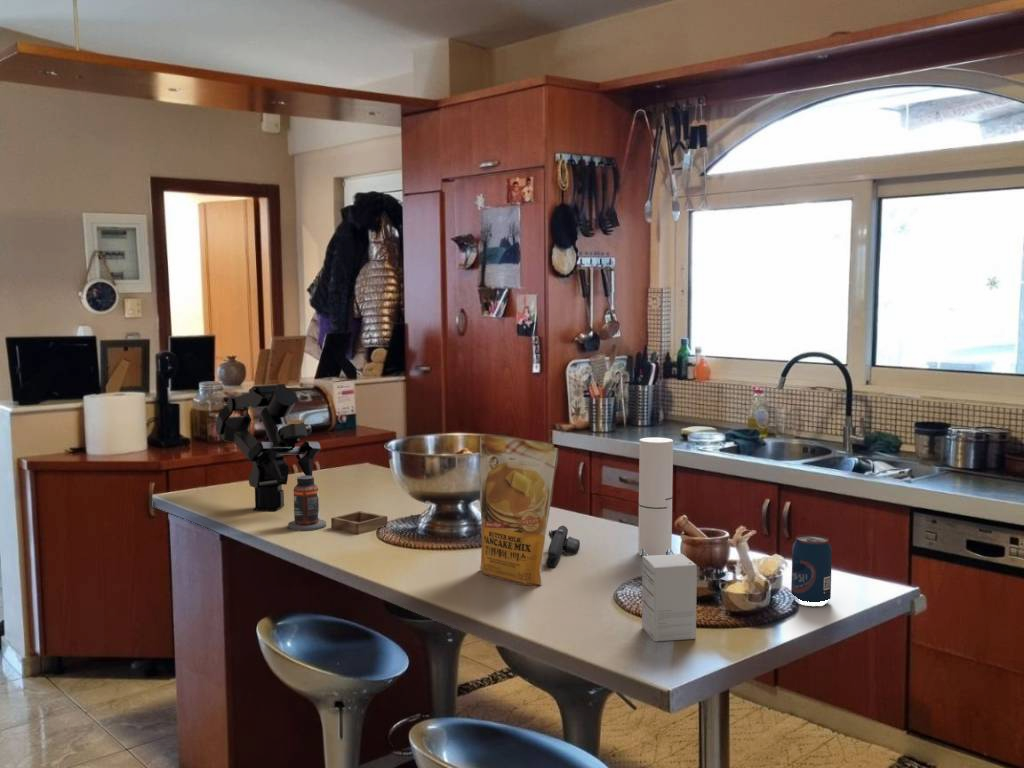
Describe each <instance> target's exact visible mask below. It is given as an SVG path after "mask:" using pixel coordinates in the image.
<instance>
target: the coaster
mask: <svg viewBox="0 0 1024 768" xmlns="http://www.w3.org/2000/svg"><path fill="white" fill-rule="evenodd" d="M287 526H288V527H289V528H290V529H289V528H288V529H289V530H292V529H293V531H298V530H301V531H300V532H302V531H303V532H305V531H317V530H321V529H323V528H324V529H325V528H326V526H327V522H326V520H324V519H320V518H319V521H318V522H317V523H315V524H311V525H299V524H296V523H295V519H294V520H291V521H289V522H288V523H287Z"/></svg>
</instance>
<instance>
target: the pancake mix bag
mask: <svg viewBox="0 0 1024 768" xmlns="http://www.w3.org/2000/svg"><path fill="white" fill-rule="evenodd" d="M478 445H479V507H480V522H481V524H480V525H481V527H480V528H481V529H480V530H481V531H480V532H481V551H480V552H481V553H480V555H481V556H480V564H479V565H480V566H479V570H481V571H482V572H483V574H484V575H486V576H489V577H493V578H496V579H500V580H504V581H508V582H512V583H514V584H518V585H524V586H531V585H537V586H542V585H543V584H542V577H541V572H540V570H541V565H542V558H543V553H544V549H545V542H546V533H547V527H548V524H549V523H548V522H549V517H550V508H551V505H552V501H553V493H554V487H555V486H554V484H555V477H556V472H557V469H558V468H557V467H558V464H559V458H560V457H559V456H560V455H559V448H558V447H556V446H555V445H554V443H552V442H548V441H543V440H542V441H541V440H534V439H533V440H532V439H526V438H525V439H524V438H521V437H515V436H508V435H507V436H506V435H497V434H496V435H495V434H483V435H480V436H478Z"/></svg>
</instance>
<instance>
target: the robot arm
mask: <svg viewBox="0 0 1024 768" xmlns="http://www.w3.org/2000/svg"><path fill="white" fill-rule="evenodd" d="M297 399H298V396H297V393H296V392H295V391H293V390H292V389H291V388H289V387H287V386H286V384H285V383H280V384H279V383H278V384H264V385H263V384H262V385H253V386H251V388H249V389H248V392H247V393H243V394H240V395H237V396H230V397H228V399H227V401H226V405H225V406H224V407H223V408H222V410H221V411H219V413H218V414H217V419H216V421H215V422H216V423H215V432H216V435H218V437H219V438H220V439H221V440H223V441H224V442H228V443H233V444H235V446H236V447H237V448H238V449H239V450H240V451H241V453H242V454H243V455H244V456H245V458H246V459H248V461H249V462H250V463H251V464H252V465H253V467H252V469H251V472H250V474H249V476H248V483H249V486H250V487H253V488H254V501H255V502H254V503H255V504H254V507H253V508H252V511H268V512H269V511H275V512H276V511H278V510H280V509H282V508H283V507H285V496H284V494H285V493H284V492H285V491H284V489H282V487H283V485H284V486H285V485H287V484H288V479H289V478H288V477H289V471H290V468H289V464H288V462H287V461H286V459H285V458H284V455H285V456H286V455H291V456H292V455H295V457H296V459H297V460H298V461H297V464H298V465H299V467H300V470H301V471H302V472H303V474H304V476H313V461H314V458H315V456H316V455H318V454H319V452H320V451H322V448H321V444H320V443H319V441H317V440H312V441H310V440H308V441H307V440H305V441H304V442H303V443H302V444H300V446H296V444H299V442H300V439H301V438H304V437H305V438H306V437H308V435H311V434H312V432H313V430H312V426H311V424H310V422H309V421H303V422H300V423H289V424H288V421H287V420H286V419H287V418H286V417H287V416H288V415H289V414H290V412H291V411H292V409H293V408H294V406H295V404H296V402H297ZM252 408H256V409H257V408H263V409H262V411H260V413H259V417H258V422H259V423H262V424H263V428H264V430H265V433H266V434H265V435H264V436H263V437H264V440H257V439H256V437H255V436H254V435H253V434H252V433H251V432H250V427H251V424H252V417H251V415H250V413H249V409H252ZM240 411H241V412H243V411H244V414H243V415H238V416H231V415H233V414H234V413H233V412H240Z"/></svg>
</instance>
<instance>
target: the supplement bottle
mask: <svg viewBox="0 0 1024 768" xmlns="http://www.w3.org/2000/svg"><path fill="white" fill-rule="evenodd" d="M296 481H297V482H296V483H297V484H296V485H295V486H294V487H293V507H294V508H293V512H294V513H293V517H294V520H295V523H296V524H299V525H311V524H315V523H317V522H318V521H319V519H320V503H319V501H320V498H319V497H320V496H319V486H317V485H316V484H315V476H313V475H312V476H305V475H299V476H297V478H296Z"/></svg>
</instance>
